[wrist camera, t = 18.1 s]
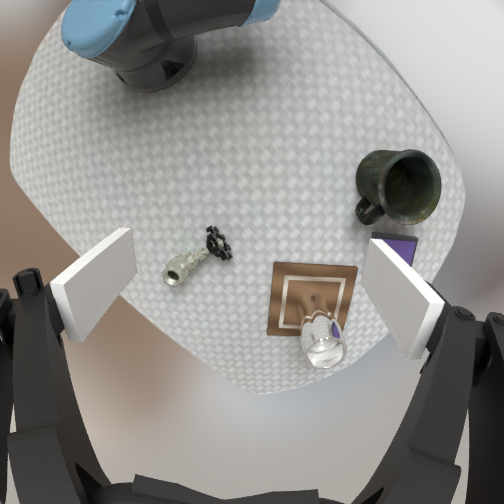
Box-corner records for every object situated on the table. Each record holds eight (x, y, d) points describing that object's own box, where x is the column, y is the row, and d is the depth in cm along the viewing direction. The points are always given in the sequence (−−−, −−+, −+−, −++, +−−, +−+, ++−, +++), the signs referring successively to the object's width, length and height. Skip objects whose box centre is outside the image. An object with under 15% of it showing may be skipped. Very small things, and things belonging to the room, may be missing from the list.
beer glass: (316, 323, 55) (330, 374, 41) (287, 310, 54) (294, 362, 40) (336, 296, 52) (357, 345, 38) (306, 282, 51) (321, 330, 37)
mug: (415, 180, 45) (452, 191, 33) (364, 231, 49) (390, 255, 37) (382, 135, 42) (416, 133, 31) (326, 188, 46) (346, 201, 35)
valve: (183, 280, 53) (234, 250, 51) (174, 297, 47) (230, 265, 45) (163, 253, 52) (214, 220, 49) (151, 267, 45) (207, 231, 43)
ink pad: (372, 232, 49) (375, 234, 47) (415, 236, 48) (419, 239, 47) (362, 280, 52) (365, 284, 51) (404, 281, 52) (407, 285, 50)
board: (273, 261, 51) (274, 264, 50) (356, 266, 51) (358, 268, 50) (267, 332, 57) (267, 335, 56) (340, 333, 57) (341, 336, 56)
